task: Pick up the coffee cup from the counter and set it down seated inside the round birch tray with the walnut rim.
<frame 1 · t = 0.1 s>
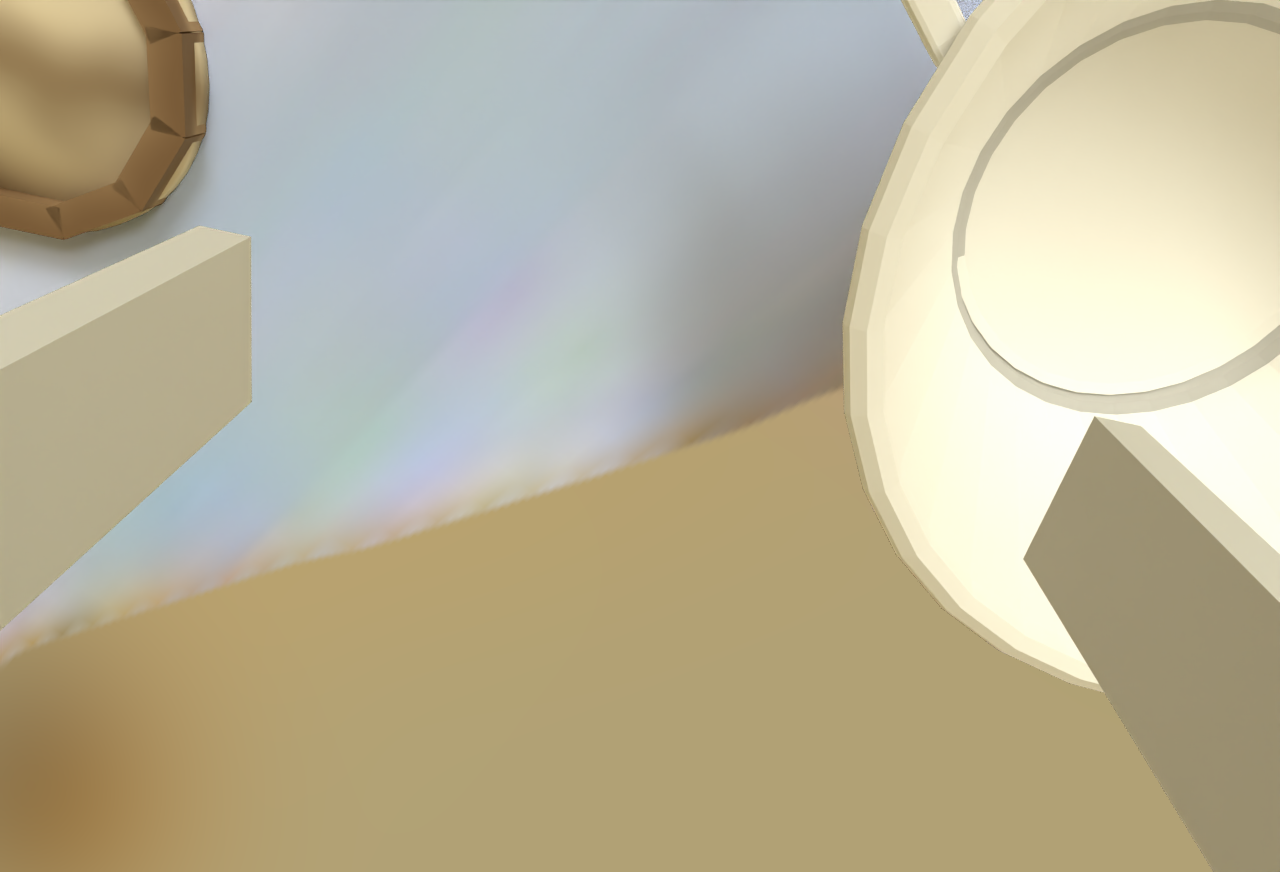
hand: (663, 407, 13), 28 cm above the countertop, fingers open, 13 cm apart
pot: (1147, 222, 39), on the countertop
round tray: (23, 43, 38), on the countertop
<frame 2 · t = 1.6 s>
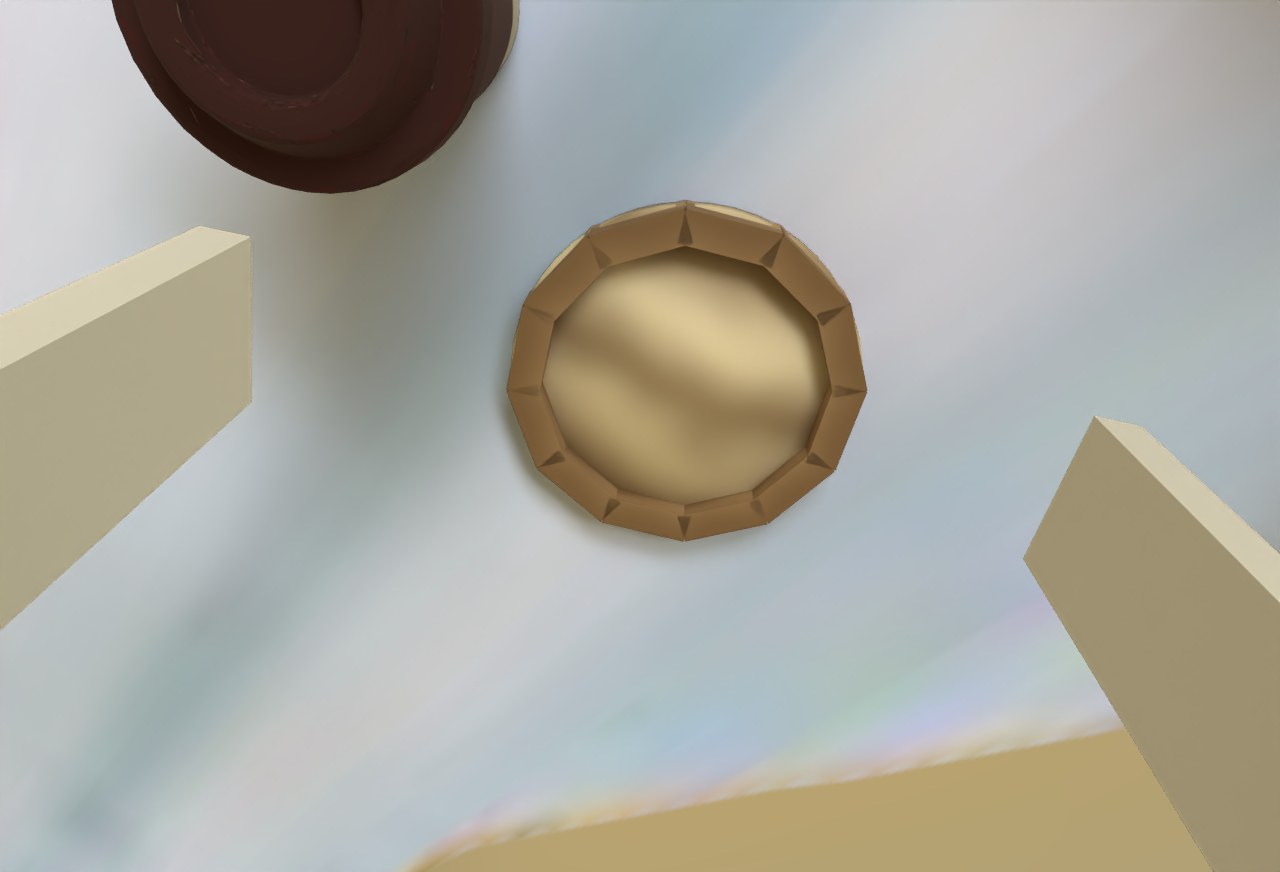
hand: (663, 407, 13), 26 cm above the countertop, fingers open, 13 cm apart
coffee cup: (433, 1, 34), on the countertop
round tray: (684, 375, 41), on the countertop
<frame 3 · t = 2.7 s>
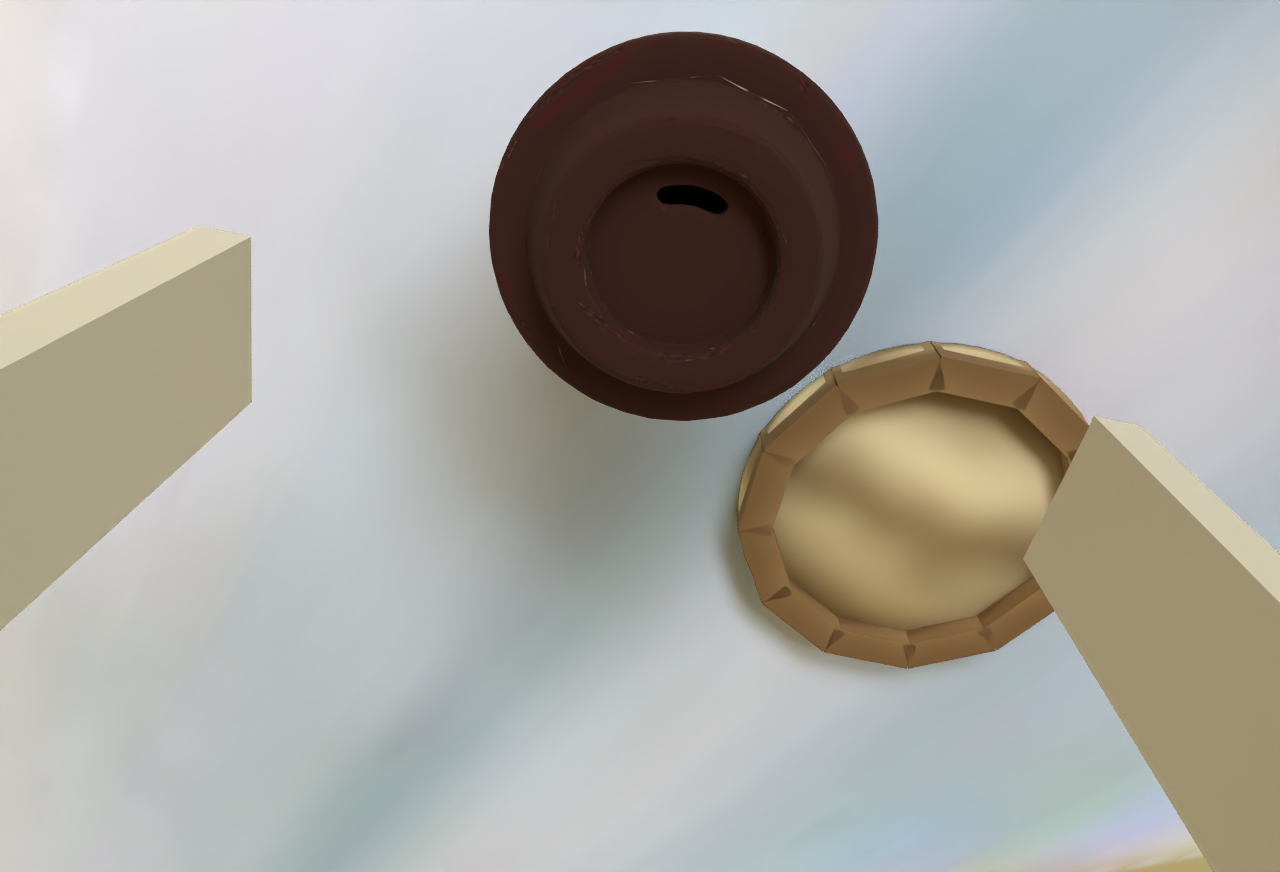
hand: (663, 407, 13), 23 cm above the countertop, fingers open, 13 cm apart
coffee cup: (685, 160, 34), on the countertop
round tray: (913, 506, 40), on the countertop
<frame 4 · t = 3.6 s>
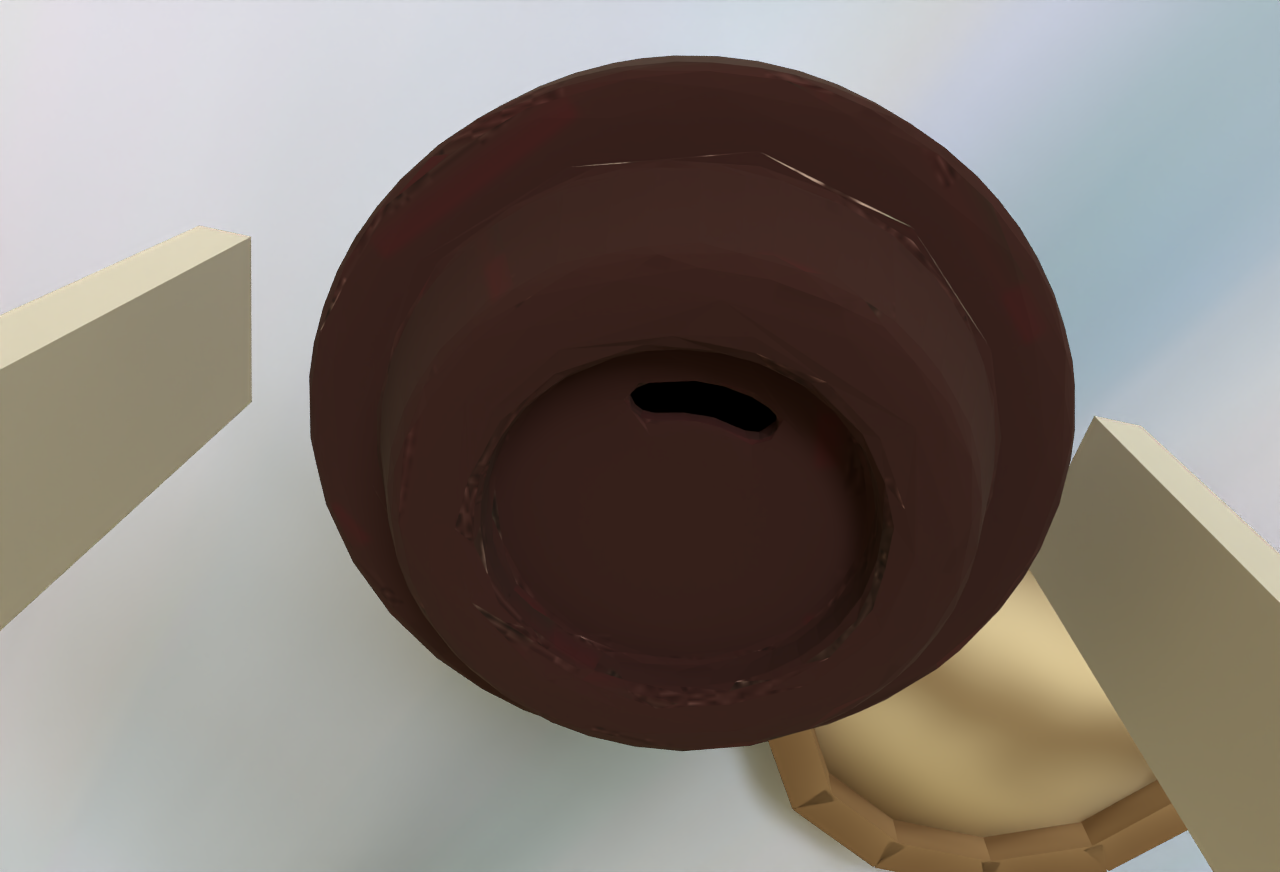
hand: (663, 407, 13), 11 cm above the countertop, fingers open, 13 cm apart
coffee cup: (690, 228, 23), on the countertop
round tray: (1000, 685, 29), on the countertop
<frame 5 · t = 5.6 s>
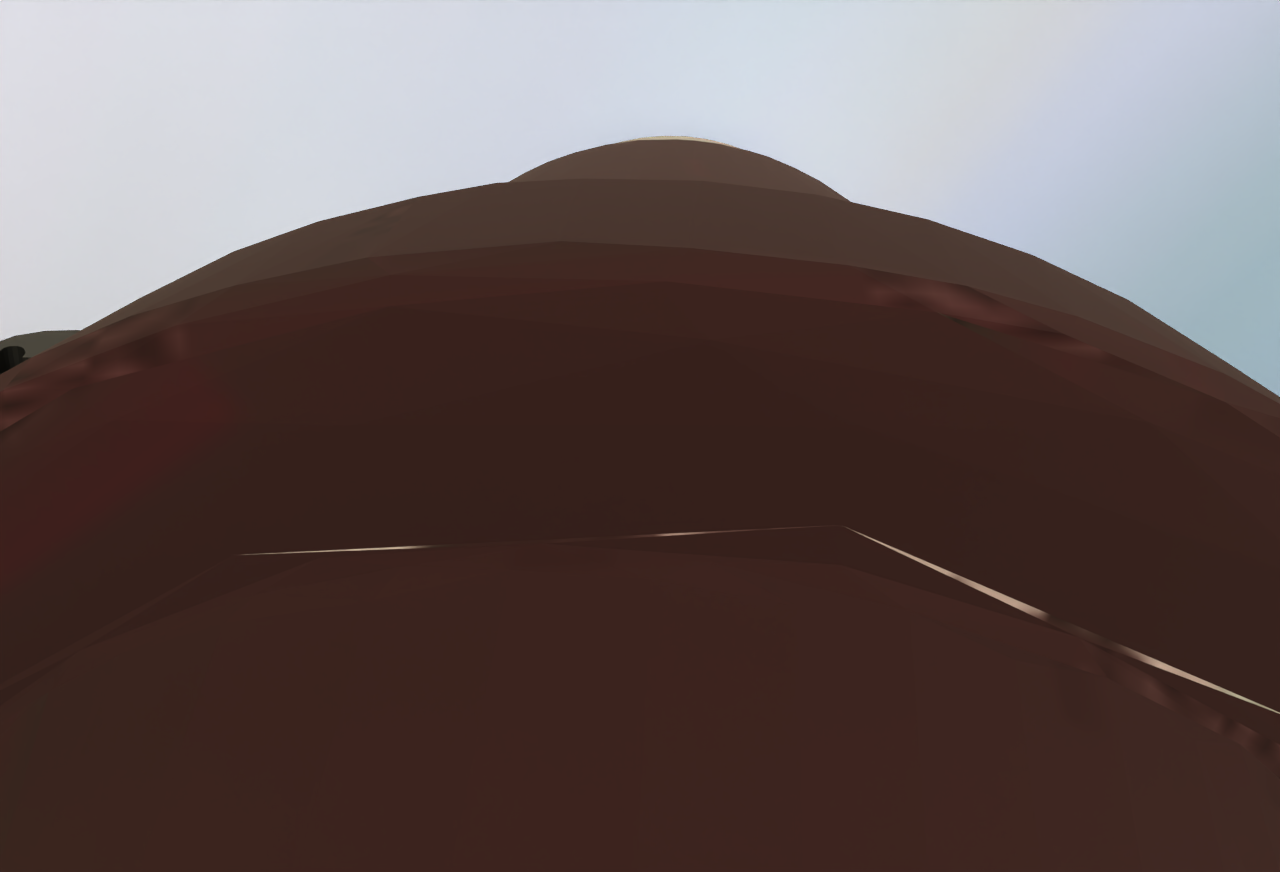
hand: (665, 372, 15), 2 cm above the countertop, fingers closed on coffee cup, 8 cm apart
coffee cup: (668, 324, 17), on the countertop, touching gripper
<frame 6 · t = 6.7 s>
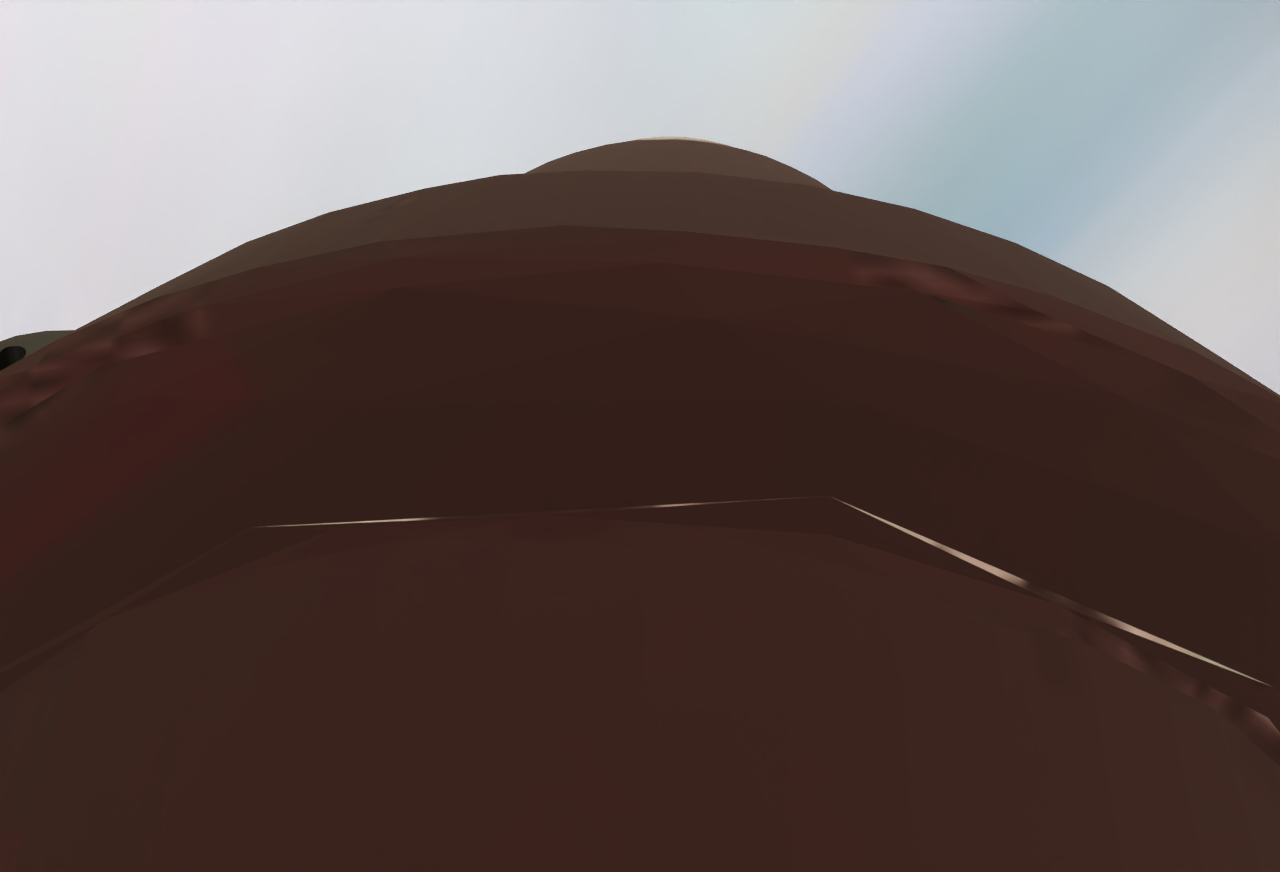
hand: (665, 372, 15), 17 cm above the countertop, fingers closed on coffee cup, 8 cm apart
coffee cup: (668, 323, 17), point 14 cm above the countertop, touching gripper
when the fingers open (5 cm above the countertop, at t = 11.7 s): coffee cup drops 1 cm, resting on round tray.
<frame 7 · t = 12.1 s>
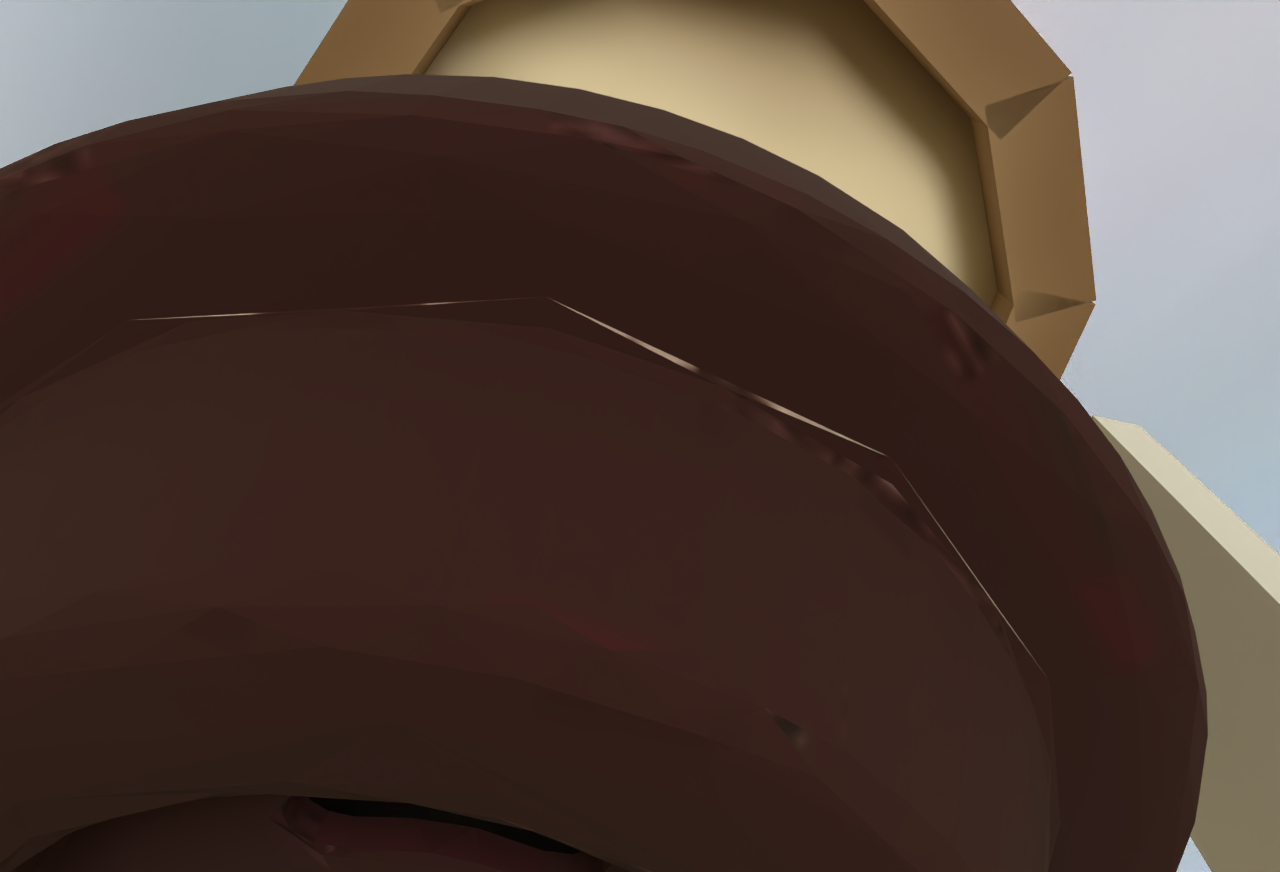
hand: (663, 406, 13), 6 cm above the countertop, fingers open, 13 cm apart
coffee cup: (612, 286, 18), point 1 cm above the countertop, touching round tray
round tray: (670, 292, 19), on the countertop
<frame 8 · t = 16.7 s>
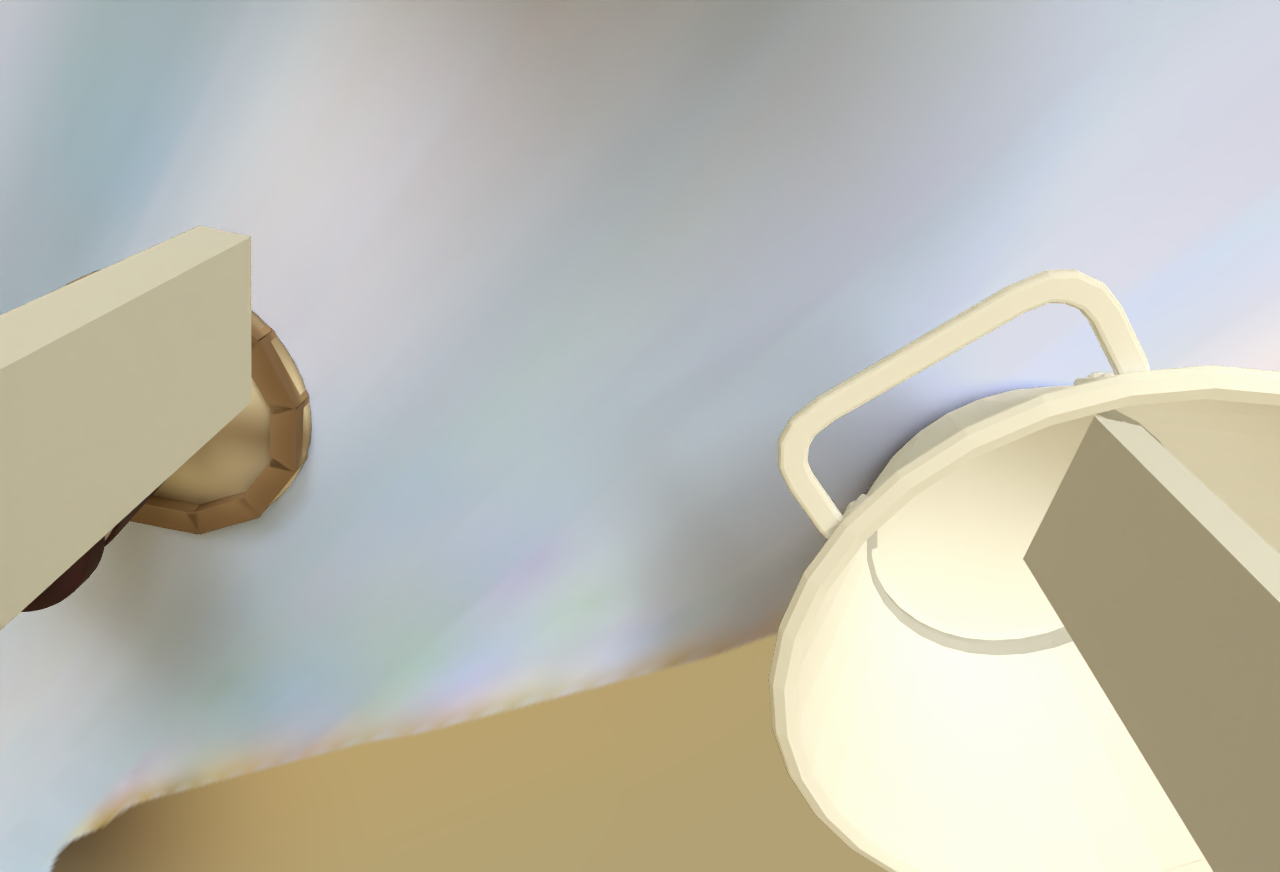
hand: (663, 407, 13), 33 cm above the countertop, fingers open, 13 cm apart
coffee cup: (146, 399, 50), point 1 cm above the countertop, touching round tray
pot: (1014, 525, 52), on the countertop
round tray: (174, 400, 51), on the countertop
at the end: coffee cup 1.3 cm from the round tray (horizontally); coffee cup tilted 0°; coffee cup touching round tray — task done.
